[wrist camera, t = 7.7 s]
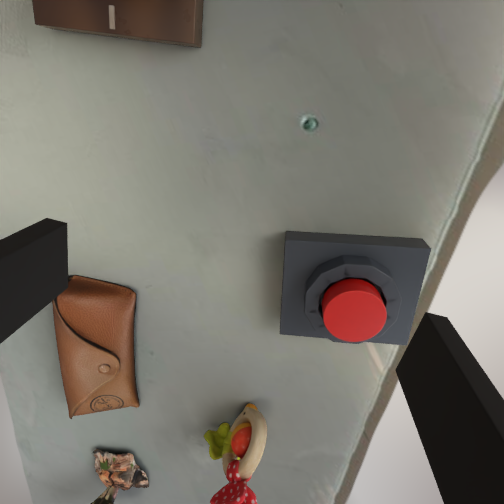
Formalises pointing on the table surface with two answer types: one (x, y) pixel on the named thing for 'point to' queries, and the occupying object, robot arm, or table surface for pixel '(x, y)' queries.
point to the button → (353, 310)
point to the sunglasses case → (96, 345)
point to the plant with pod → (117, 474)
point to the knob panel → (126, 19)
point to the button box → (351, 267)
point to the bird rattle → (238, 454)
